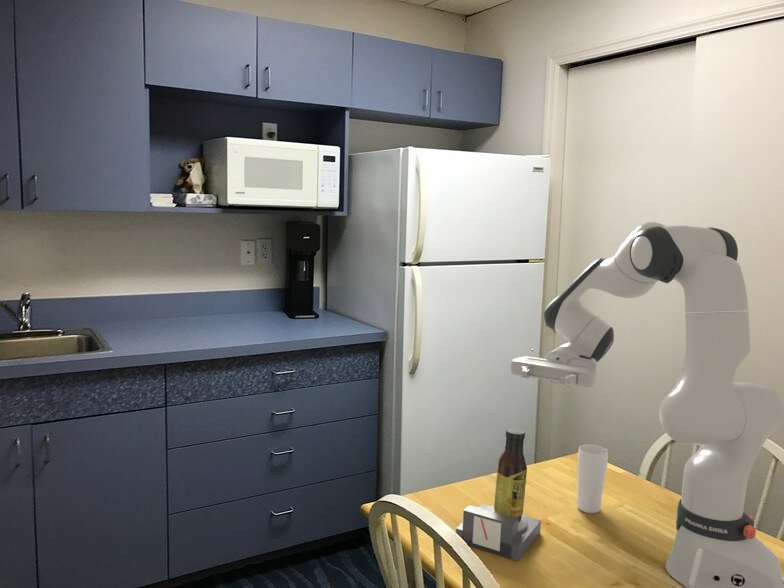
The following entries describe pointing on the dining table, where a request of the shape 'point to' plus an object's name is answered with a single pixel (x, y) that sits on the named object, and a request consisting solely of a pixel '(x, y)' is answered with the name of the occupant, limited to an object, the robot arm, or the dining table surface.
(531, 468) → the dining table surface
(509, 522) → the kitchen scale
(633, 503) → the dining table surface
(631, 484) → the dining table surface
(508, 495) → the sauce bottle
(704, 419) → the robot arm
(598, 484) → the drinking glass
